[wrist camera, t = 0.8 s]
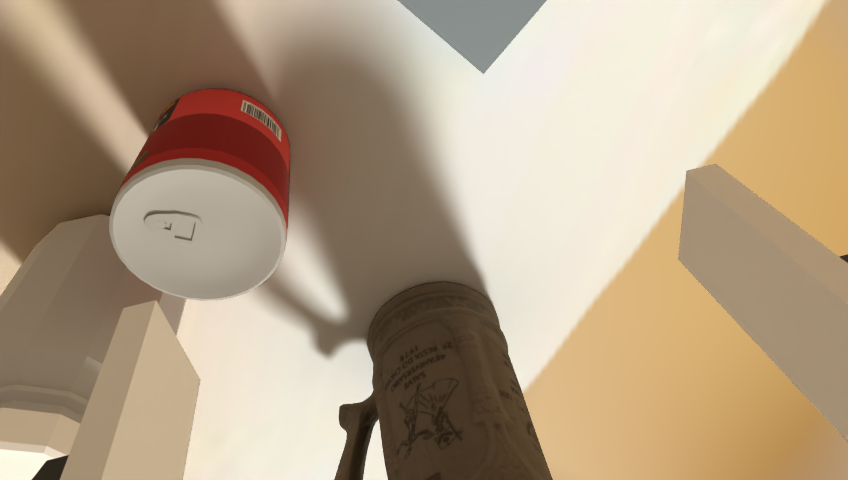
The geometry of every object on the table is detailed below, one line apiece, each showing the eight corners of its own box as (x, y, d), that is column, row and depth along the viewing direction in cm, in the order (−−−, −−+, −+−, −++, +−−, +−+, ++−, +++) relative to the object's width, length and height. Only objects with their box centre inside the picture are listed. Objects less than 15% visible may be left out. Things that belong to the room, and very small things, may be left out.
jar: (69, 179, 37) (-91, 401, 22) (219, 246, 41) (170, 471, 26) (14, 290, 40) (-157, 547, 25) (157, 342, 45) (83, 588, 30)
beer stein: (455, 250, 45) (520, 499, 28) (529, 328, 50) (619, 574, 34) (302, 352, 49) (282, 619, 33) (386, 414, 54) (405, 669, 38)
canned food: (148, 80, 35) (92, 161, 25) (290, 87, 36) (285, 166, 27) (164, 197, 39) (120, 304, 29) (291, 199, 40) (287, 301, 31)
